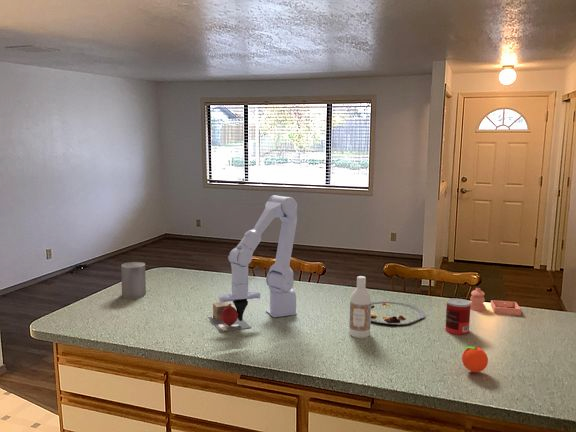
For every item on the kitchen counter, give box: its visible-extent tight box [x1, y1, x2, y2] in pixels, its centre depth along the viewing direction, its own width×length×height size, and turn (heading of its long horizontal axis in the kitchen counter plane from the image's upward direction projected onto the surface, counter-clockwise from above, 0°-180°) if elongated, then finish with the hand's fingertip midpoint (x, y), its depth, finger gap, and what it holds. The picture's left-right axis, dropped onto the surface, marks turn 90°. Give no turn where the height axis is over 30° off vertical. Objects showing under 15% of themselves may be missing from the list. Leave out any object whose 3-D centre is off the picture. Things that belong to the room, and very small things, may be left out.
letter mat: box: [207, 317, 252, 333], centre depth 180 cm, size 11×18×1 cm, turn 24°
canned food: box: [445, 297, 471, 336], centre depth 171 cm, size 8×8×11 cm
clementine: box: [458, 346, 489, 373], centre depth 142 cm, size 8×7×7 cm
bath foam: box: [348, 275, 372, 339], centre depth 168 cm, size 7×7×20 cm
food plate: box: [371, 300, 426, 326], centre depth 188 cm, size 25×23×4 cm
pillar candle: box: [120, 261, 147, 299], centre depth 209 cm, size 10×10×15 cm
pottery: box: [469, 287, 522, 316], centre depth 192 cm, size 18×10×10 cm, turn 77°
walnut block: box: [212, 301, 229, 320], centre depth 184 cm, size 5×5×5 cm
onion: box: [221, 303, 238, 326], centre depth 175 cm, size 6×6×8 cm
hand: (240, 320), depth 177 cm, fingers closed, pressing on onion
